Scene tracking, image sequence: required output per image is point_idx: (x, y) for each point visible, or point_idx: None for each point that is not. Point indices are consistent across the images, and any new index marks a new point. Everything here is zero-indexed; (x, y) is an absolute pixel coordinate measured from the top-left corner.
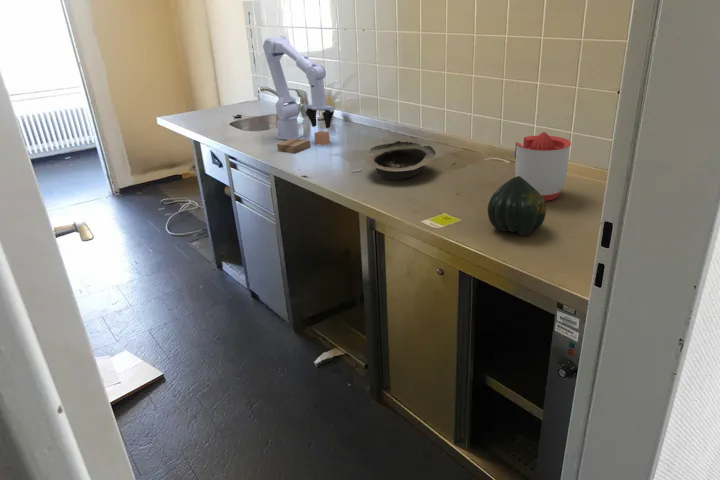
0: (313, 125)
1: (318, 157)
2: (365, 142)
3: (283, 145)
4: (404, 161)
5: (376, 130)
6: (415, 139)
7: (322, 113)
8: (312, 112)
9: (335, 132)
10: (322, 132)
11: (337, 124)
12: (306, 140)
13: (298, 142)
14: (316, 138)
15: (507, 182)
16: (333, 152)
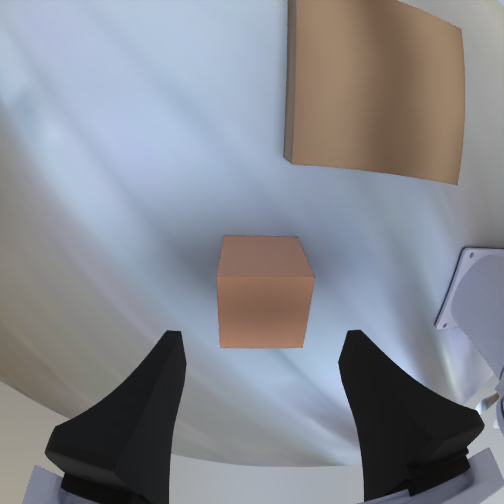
0: (351, 341)
1: (84, 15)
2: (69, 342)
3: (410, 7)
4: None
5: (171, 448)
6: (10, 383)
7: (116, 461)
8: (394, 462)
9: (309, 415)
10: (255, 318)
11: (350, 452)
12: (321, 151)
13: (351, 77)
14: (288, 255)
15: None
16: (59, 132)
